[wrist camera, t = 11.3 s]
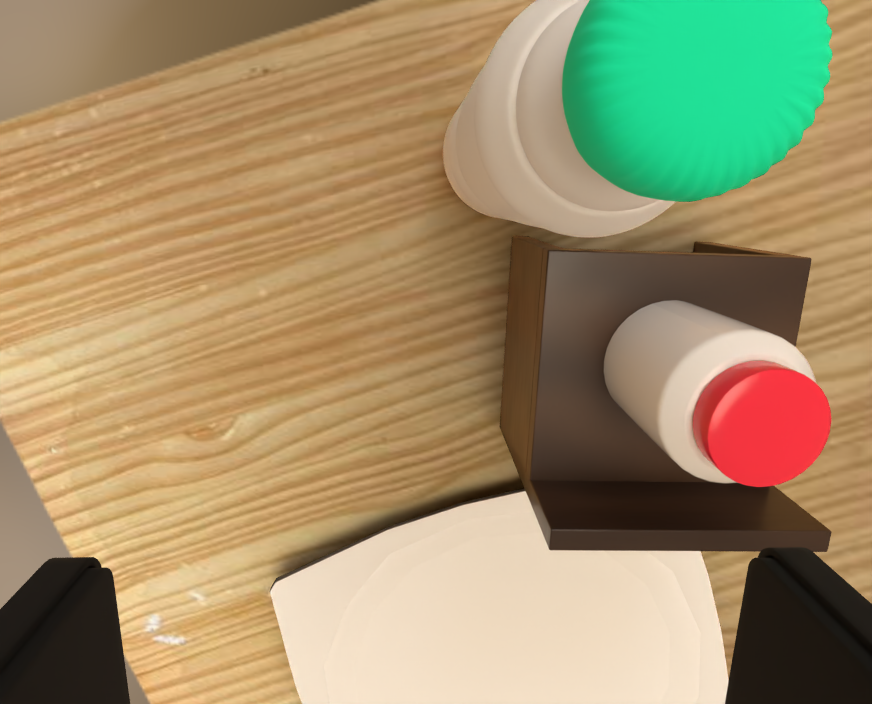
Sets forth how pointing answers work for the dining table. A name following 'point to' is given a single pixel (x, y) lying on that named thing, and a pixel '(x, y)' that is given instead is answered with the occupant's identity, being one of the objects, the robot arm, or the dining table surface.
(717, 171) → the water bottle
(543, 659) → the plate
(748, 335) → the pill bottle
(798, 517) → the wooden block chair
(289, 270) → the dining table surface
